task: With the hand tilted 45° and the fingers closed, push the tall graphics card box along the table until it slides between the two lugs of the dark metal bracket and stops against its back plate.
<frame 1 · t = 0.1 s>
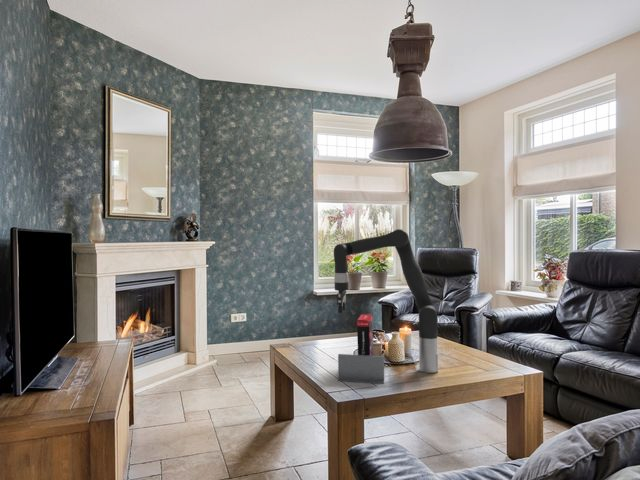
hand: (341, 311, 249), 29 cm above the table, tool pointing down, fingers open, 8 cm apart
bracket: (362, 377, 229), on the table
graphics card box: (365, 369, 244), on the table
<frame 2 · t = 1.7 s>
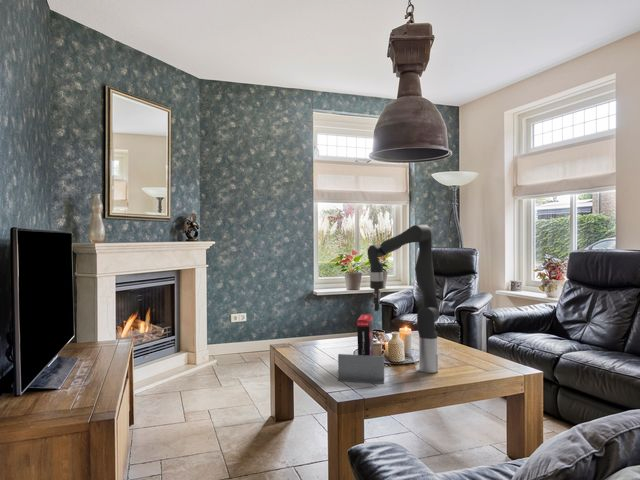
hand: (377, 309, 265), 27 cm above the table, tool pointing down, fingers open, 4 cm apart
nothing on the table moved.
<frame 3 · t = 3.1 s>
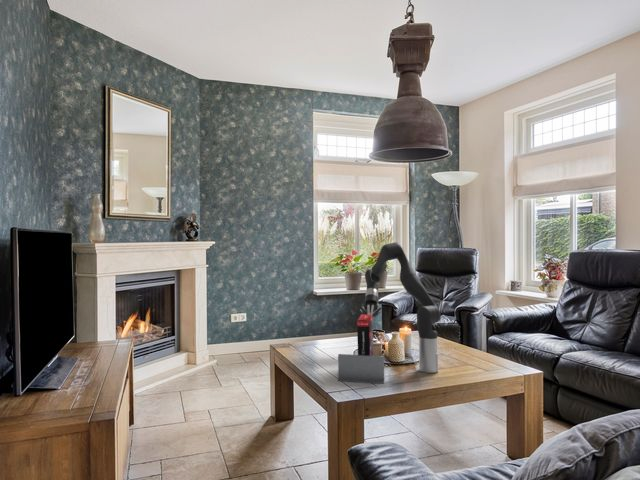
hand: (369, 322, 266), 20 cm above the table, tool tilted 45°, fingers closed
nothing on the table moved.
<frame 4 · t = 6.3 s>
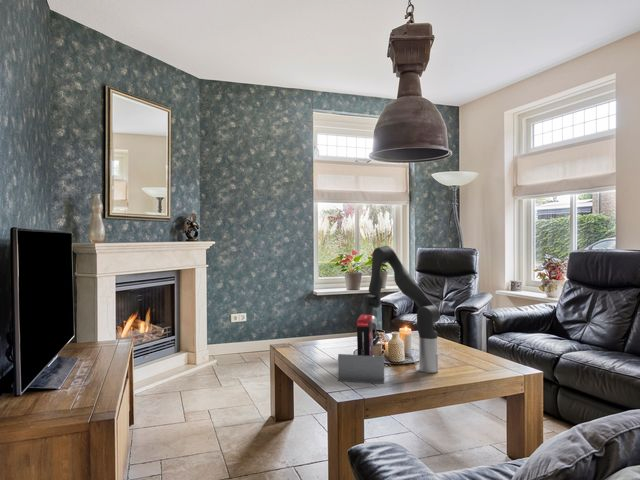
hand: (367, 352, 252), 7 cm above the table, tool tilted 45°, fingers closed
graphics card box: (365, 369, 243), on the table, touching gripper
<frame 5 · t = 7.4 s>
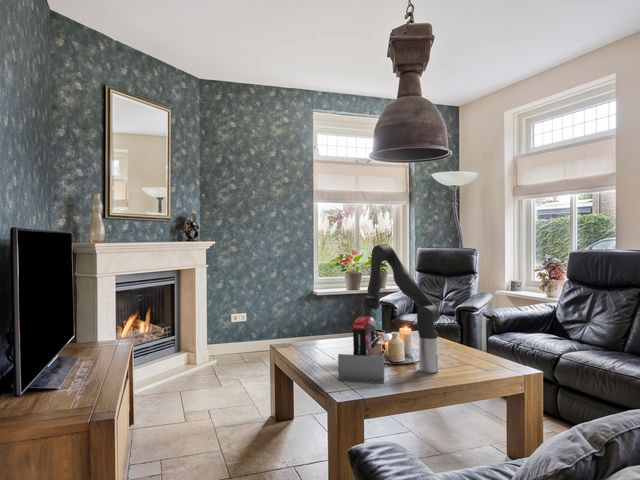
hand: (365, 354, 246), 7 cm above the table, tool tilted 45°, fingers closed
graphics card box: (362, 373, 237), on the table, touching gripper
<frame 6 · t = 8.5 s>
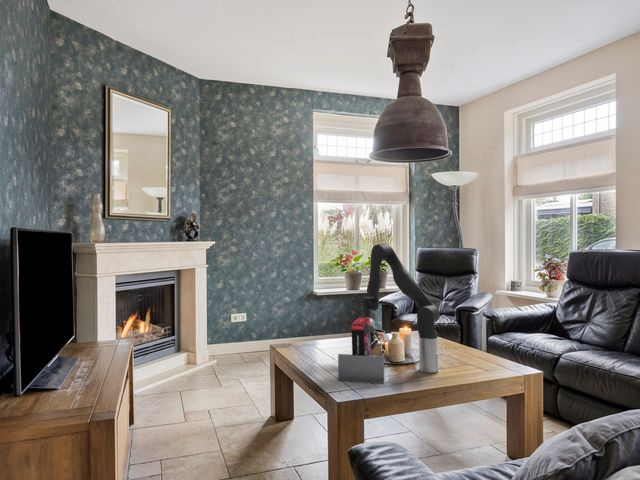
hand: (365, 356, 243), 7 cm above the table, tool tilted 45°, fingers closed
graphics card box: (361, 374, 234), on the table, touching bracket, gripper
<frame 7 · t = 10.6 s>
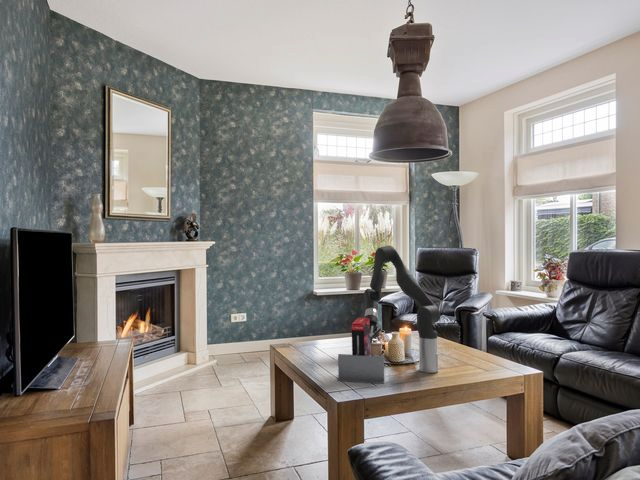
hand: (369, 343, 257), 10 cm above the table, tool tilted 45°, fingers closed
graphics card box: (361, 374, 234), on the table
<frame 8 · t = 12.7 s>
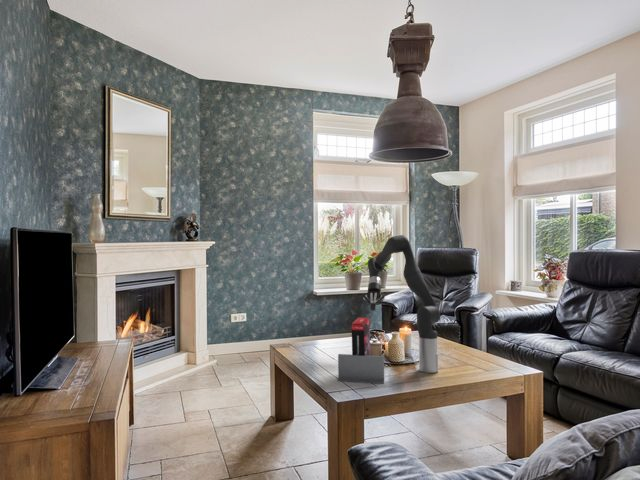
hand: (372, 310, 261), 28 cm above the table, tool tilted 45°, fingers closed
nothing on the table moved.
at the end: graphics card box 1.1 cm from the target spot on the bracket, point 0.0 cm above the bracket's base; graphics card box tilted 0° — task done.
